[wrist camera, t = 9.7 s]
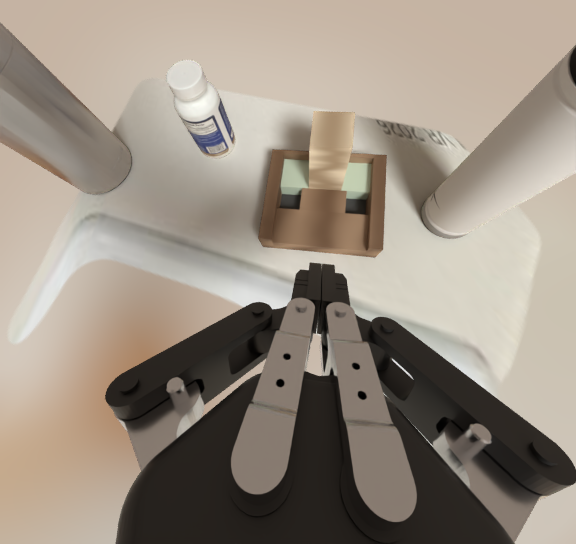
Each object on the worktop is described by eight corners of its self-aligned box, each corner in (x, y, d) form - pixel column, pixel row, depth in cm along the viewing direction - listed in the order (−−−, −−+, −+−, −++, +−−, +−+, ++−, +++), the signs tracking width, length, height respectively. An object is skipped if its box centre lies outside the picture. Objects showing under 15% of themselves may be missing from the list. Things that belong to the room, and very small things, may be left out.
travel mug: (407, 209, 29) (613, -24, 10) (451, 184, 29) (736, -92, 10) (439, 250, 28) (759, 71, 8) (485, 223, 28) (898, -11, 8)
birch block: (308, 188, 29) (309, 145, 22) (312, 160, 29) (313, 111, 23) (341, 190, 28) (352, 147, 21) (343, 162, 29) (355, 112, 22)
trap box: (263, 246, 29) (258, 238, 26) (275, 165, 32) (272, 149, 29) (375, 257, 28) (383, 249, 25) (379, 171, 30) (386, 155, 28)
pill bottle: (213, 124, 34) (177, 48, 25) (242, 136, 34) (217, 62, 24) (193, 152, 34) (149, 84, 24) (223, 165, 33) (190, 101, 23)
